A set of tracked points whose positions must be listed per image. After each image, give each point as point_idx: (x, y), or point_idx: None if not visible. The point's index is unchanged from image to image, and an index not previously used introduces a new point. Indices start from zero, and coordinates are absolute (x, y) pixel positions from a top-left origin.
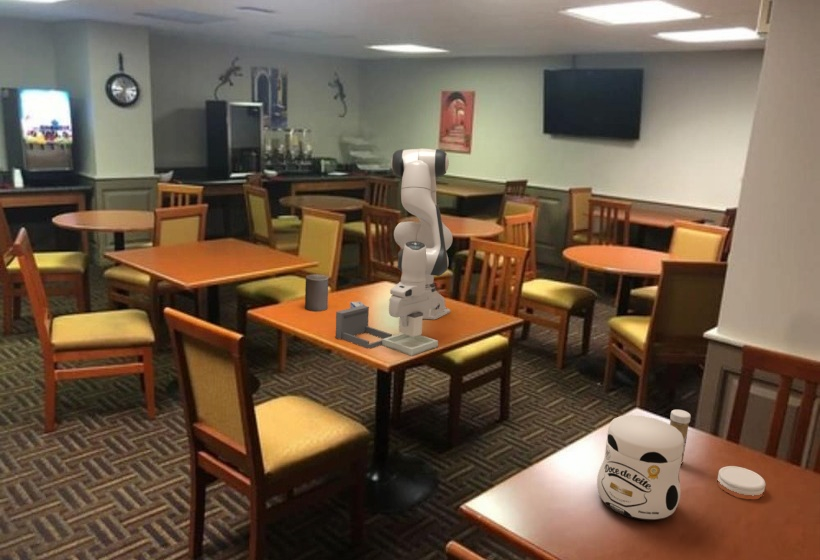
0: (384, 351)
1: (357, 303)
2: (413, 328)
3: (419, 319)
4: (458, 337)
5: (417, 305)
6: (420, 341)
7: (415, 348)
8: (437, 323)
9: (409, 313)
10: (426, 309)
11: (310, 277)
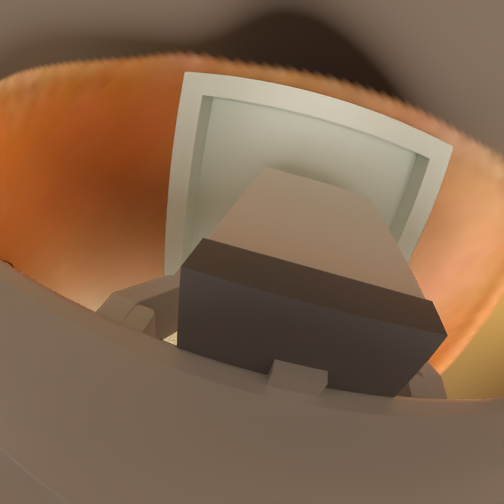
0: (426, 284)
1: None
2: (384, 229)
3: (296, 239)
4: (43, 98)
5: (200, 491)
6: (205, 189)
7: (427, 134)
8: (16, 244)
9: (424, 408)
10: (30, 283)
11: None
